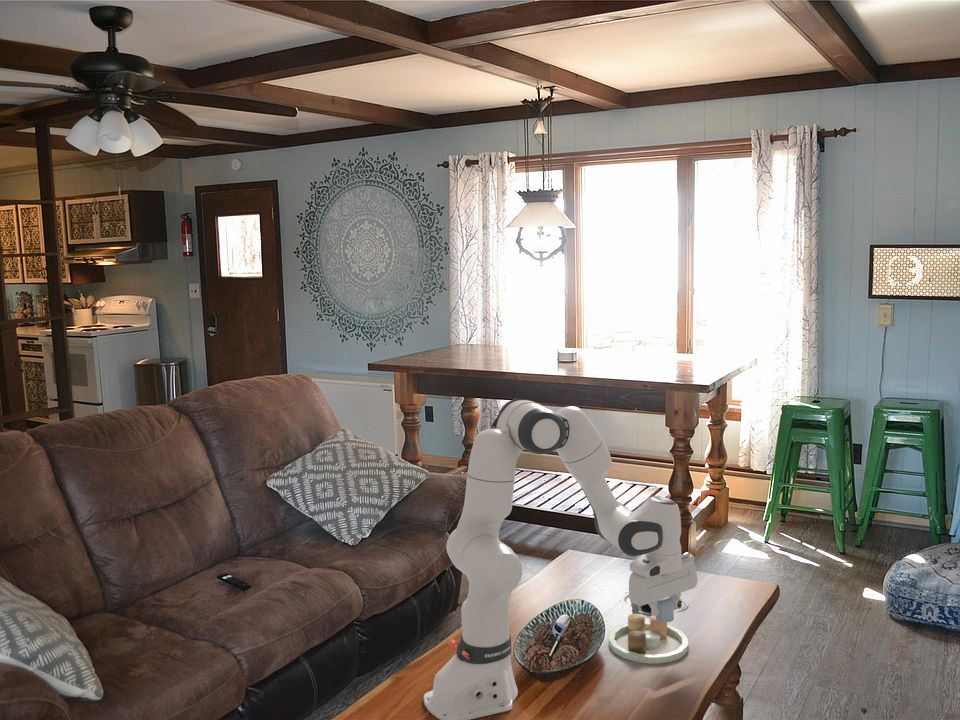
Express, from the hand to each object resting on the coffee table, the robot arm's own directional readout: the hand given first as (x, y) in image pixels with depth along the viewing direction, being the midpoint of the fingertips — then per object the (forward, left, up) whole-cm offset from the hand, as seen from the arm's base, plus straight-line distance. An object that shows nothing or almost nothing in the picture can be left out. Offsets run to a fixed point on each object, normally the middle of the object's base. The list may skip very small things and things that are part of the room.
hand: (664, 612), depth 214 cm
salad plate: (+19, +24, -13) cm, 33 cm away
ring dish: (0, +6, -12) cm, 13 cm away
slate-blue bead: (0, 0, -2) cm, 2 cm away
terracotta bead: (+5, +8, -11) cm, 14 cm away
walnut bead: (-6, +4, -11) cm, 13 cm away
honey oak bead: (+1, +12, -11) cm, 16 cm away
